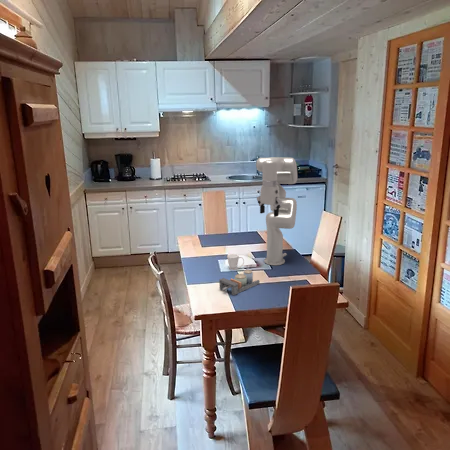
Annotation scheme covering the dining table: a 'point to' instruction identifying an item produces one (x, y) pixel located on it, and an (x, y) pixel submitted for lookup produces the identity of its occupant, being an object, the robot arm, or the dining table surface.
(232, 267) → the cup
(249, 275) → the jar
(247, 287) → the lane
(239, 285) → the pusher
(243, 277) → the jar resting
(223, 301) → the dining table surface
